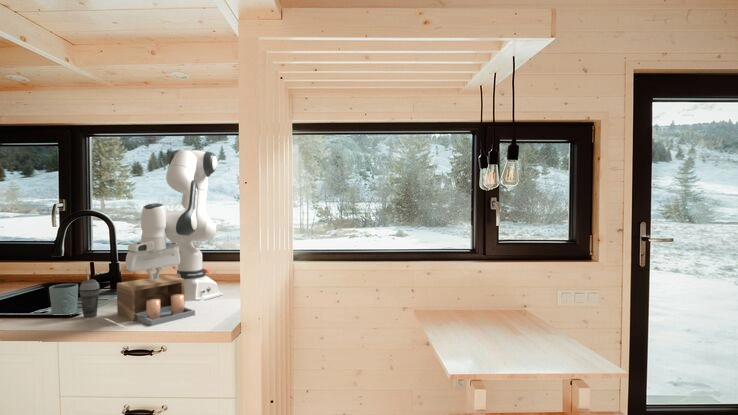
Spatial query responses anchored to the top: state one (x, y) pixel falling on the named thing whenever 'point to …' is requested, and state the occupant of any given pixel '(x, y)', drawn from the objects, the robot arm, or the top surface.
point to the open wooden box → (146, 294)
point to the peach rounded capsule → (153, 309)
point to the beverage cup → (89, 297)
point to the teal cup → (64, 298)
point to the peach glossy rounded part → (177, 304)
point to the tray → (164, 316)
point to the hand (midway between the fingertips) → (154, 279)
